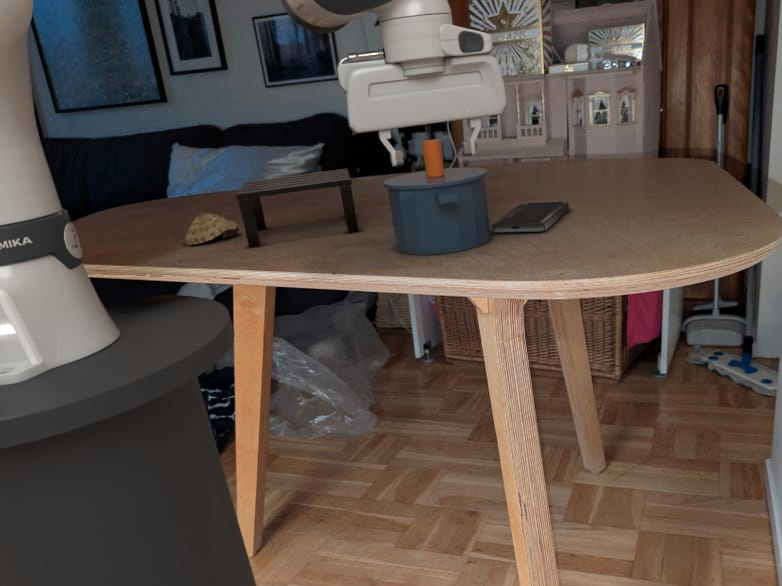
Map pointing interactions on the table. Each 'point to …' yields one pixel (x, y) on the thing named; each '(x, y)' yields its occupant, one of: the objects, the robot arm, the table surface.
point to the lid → (434, 172)
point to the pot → (440, 218)
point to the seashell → (209, 228)
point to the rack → (256, 189)
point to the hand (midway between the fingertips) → (433, 160)
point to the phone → (530, 217)
